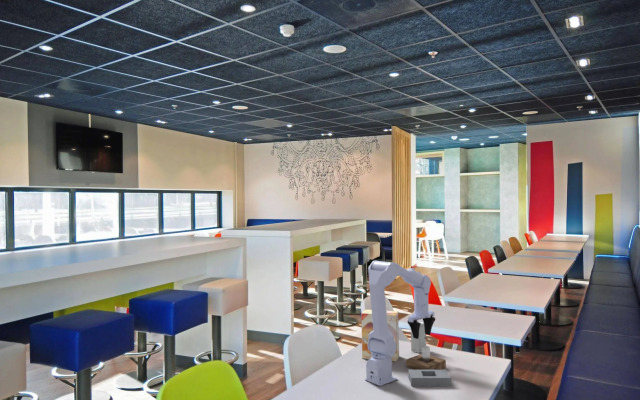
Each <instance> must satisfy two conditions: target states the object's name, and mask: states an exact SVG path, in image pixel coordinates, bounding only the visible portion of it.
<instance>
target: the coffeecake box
mask: <svg viewBox="0 0 640 400" xmlns="http://www.w3.org/2000/svg"><path fill="white" fill-rule="evenodd" d="M386 313H387V323H388V330H389V331H390V332H391V333H392V335H393V336H394V341H395V343H396V352H395V354H394V355H393V357H392V362H398V359H399V357H400V332H399V331H400V330H399V329H400V326H399V325H400V324H399V323H400V322H399V321H400V320H399V317H400V316H399V310H397V311H395V310H386ZM372 331H373V319H372V309H364V310H363V311H362V312H361V357H362V358H361V359H363V360H369V359H371V357H372V355H371V352H370V351H369V350H368V335H369V333H370V332H372Z"/></svg>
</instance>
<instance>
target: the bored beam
mask: <svg viewBox="0 0 640 400" xmlns="http://www.w3.org/2000/svg"><path fill="white" fill-rule="evenodd" d="M407 371H408V375H407V376H408V380H409V383H410V386H411V387H451V386H452V383H451V382H452V378H451V376H450V374H449V373H448V371H447V369H441V370H414V369H407Z"/></svg>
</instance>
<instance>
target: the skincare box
mask: <svg viewBox="0 0 640 400" xmlns="http://www.w3.org/2000/svg"><path fill="white" fill-rule="evenodd" d="M417 321H418V322H419V323H421V325H420V329H419V338H418V339H416V338H413V334H412V330H411V329H410V350H411V351H412V352H415V353H418V354H421V353H422V346H427V334H425V329H424V322H423V321H419V320H417Z"/></svg>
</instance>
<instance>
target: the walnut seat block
mask: <svg viewBox="0 0 640 400" xmlns="http://www.w3.org/2000/svg"><path fill="white" fill-rule="evenodd" d="M405 362H406V363H405V365H406V366H405V367H406V368H408V369H410V370H444V369H446V368H447V360H446V359H443V358H441V357H438V356H435V355H431V354H430V362H429V363H425V362H422V353H419V354H418V355H415V356H412V357H409V358H406V359H405Z"/></svg>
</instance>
